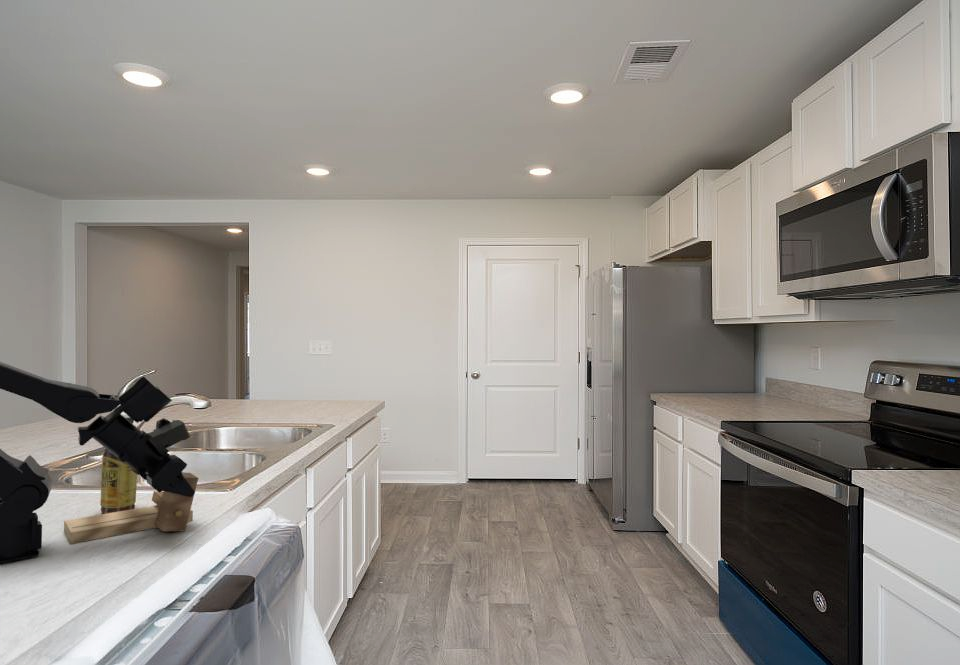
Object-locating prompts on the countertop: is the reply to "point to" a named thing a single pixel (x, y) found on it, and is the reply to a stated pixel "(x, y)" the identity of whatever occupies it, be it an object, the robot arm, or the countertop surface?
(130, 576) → the countertop surface
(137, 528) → the board
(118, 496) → the sauce bottle
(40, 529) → the robot arm
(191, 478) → the gauge
